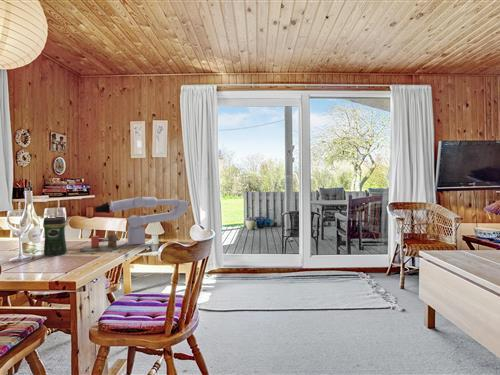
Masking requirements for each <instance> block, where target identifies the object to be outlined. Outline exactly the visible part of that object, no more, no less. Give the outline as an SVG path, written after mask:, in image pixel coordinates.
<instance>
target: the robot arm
mask: <svg viewBox="0 0 500 375" xmlns="http://www.w3.org/2000/svg"><path fill="white" fill-rule="evenodd" d="M159 205H161V206H165V205H166V206H173V207H174V208H173V209H172V210H171V211H168V212H161V213H156V214H154V213H153V214H148V215H139V216H138V215H135V214H134V215H133V214H132V215H130V216H129V217H128V219H127V223H128V226H127V241H126V244H127V245H128V246H129V245H141V244H142V245H143V244H146V228H145V227H142V226H144V225H147V224H153V223H154V224H155V223H160V222H161V223H162V222H167V221H173V220H178V219H179V218H180V217H181V216H183V215H184V214H185V213H187V211H188V209H189V207H190V206H189V205H190V204H189V203H188V201H186V200H183V199H177V198H163V199H160V198H159V199H157V198H156V197H155V196H153V195H152V196H151V195H150V196H141V197H140V196H135V197H133V198H125V199H121V200H115V201H113V199H110V204H109V202H108V201H106V202H105V203H104V204H103V203H102V204H101V205H98V206H96V207H94V212H95V213H98V214H99V213H106V214H111V213H110V212H111V211H112V213H115V212H120V211H126V210H130V209H133V208H139V209H140V208H142V207H144V208H156V207H157V206H159Z"/></svg>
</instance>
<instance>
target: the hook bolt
mask: <svg viewBox="0 0 500 375" xmlns="http://www.w3.org/2000/svg"><path fill="white" fill-rule="evenodd" d="M90 238H91V240H90V244H91V245H90V246H91V248H97V247H99V245H100V243H104V242H107V243H108V237H106V238H104V237H101V238H100V236H99V235H91V237H90ZM119 241H121V237H120V236H119V237H118V236H117V242H119Z"/></svg>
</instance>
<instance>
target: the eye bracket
mask: <svg viewBox="0 0 500 375" xmlns="http://www.w3.org/2000/svg"><path fill="white" fill-rule="evenodd" d="M117 237H118V236H117V233H114V232H113V233H107V238H108V241H107V244H99V247H97V248H91V245H84V246H83V245H82V247H81V253H89V252H100V251H112V250H113V251H115V250H119V247H118V241H117Z"/></svg>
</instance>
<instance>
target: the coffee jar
mask: <svg viewBox="0 0 500 375" xmlns="http://www.w3.org/2000/svg"><path fill="white" fill-rule="evenodd" d="M48 217H49V216H47V217H44V219H43V223H42V227H43V229H44V244H43V255H44V256H49V257H51V256H61V255H63V254H66V253H67V251H68V249H67V241H66V235H65V234H66V232H65V231H66V230H65V228H66V226H67V221H66V217H65V216H64V217H56V218H48Z"/></svg>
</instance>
